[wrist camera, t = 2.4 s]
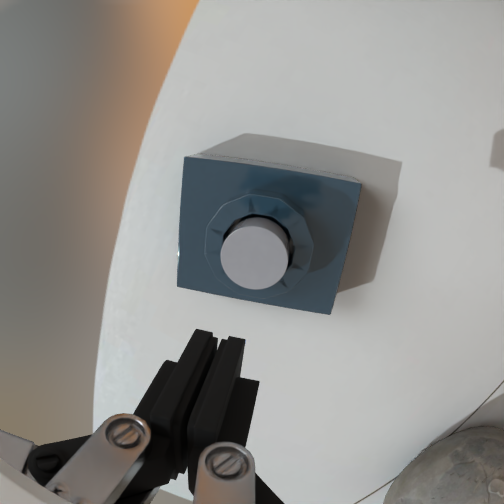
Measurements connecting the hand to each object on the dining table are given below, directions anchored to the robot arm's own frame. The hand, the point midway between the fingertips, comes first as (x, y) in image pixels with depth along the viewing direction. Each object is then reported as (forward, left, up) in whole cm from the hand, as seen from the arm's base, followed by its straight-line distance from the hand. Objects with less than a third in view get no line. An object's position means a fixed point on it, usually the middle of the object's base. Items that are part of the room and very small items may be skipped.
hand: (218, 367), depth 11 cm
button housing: (0, 0, -16) cm, 16 cm away
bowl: (+32, -29, -16) cm, 46 cm away
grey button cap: (0, 0, -11) cm, 11 cm away
